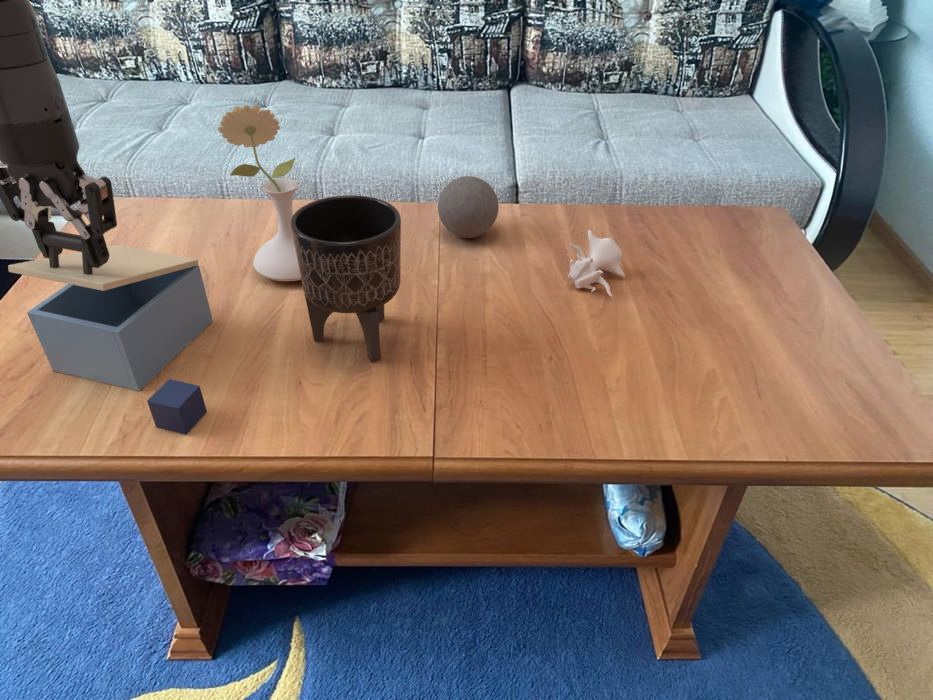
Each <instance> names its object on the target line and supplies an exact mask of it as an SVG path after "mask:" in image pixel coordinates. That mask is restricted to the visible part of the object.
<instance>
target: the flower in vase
mask: <svg viewBox="0 0 933 700" xmlns="http://www.w3.org/2000/svg"><path fill="white" fill-rule="evenodd" d="M275 116H276V115H275V114H274V113H272V111H271V109H261V107H260V106H259V105H258V104H254V105H252V106H251V107H250V105H248V104H244V105H243V106H242V107H240V106H234V107H233V109H232V111H226V112H225V115H223V116H222V117H221V120H220V122H219V124H220V126H218V127H217V130H218V132H219V133H220V134H221V137H222V138H223V139H226V142H227V143H229V144H230V145H234V146H235V147H240V146H243V147H244V148H252V149H253V154H254V159H255V163H256V165H252V164H250V163H249V164H248V163H242V164H240V165H239V164H238V165H237V166H236V167H235V168H233V170H232V171H231V173H230V176H238V177H247V178H253V177H255V176H256V175H257V174H258V173H259V172H262V173H263V174H264V175H265V177H267V178H268V180H267V181H265V182H264V183H263V184H262V186H261V188H262V190H263V191H264V192H265V193H266V194H267V195H268V196H269V197H270V199H271V201H272V203H273V206H274V209H275V212H276V217H277V225H278V227H277V232H276V234H275V235H274V236H273V237H271V238H270V239H269V240H268V241H266V242H265V243H264V244H263V245H261V247H260V248H259V249H258V250H257V251H256V253H255V255H254V257H253V263H252V265H253V269H255V271H256V272H257V273H259V274H260V275H261V276H262V277H264V278H266V279H269V280H272V281H275V282H276V281H277V282H295V281H302V280H301V275H300V270H299V265H298V260H297V255H296V250H295V245H294V240H293V235H292V230H291V225H290V222H291V218H292V216H293V215H294V214H293V213H294V212H293V199H294V196H295V192H296V190H297V189H298V187H299V182H298V181H297V180H295V179H294V178H293V179H292V178H288V177H284V176H286V175H287V174H288V173H289V172H290V171H291V170H292V168H293V166H294V164H295V161H296V157H293V158H291V159H289V160H287V161H284V162H281V163H279V164H278V165H276V166H275V168H274V170H273V171H272V173H271V174H272V175H271V176H270V174H268V172H267V171H266V170H264V168H263V167H262V165H261V164H260V162H259V158H258V154H257V150H256V148H257V147H259V146H260V145H262V146H263V145H264V146H265V145H266V144H267V143H268V142H271V141H272V142H273V141H274V140H275V139H276V135H278V133H279V132H278V131H279V130H280V129H281V126H280V125H279V124H280V122H279V120H278V119H276V117H275Z"/></svg>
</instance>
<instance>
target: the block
mask: <svg viewBox="0 0 933 700" xmlns="http://www.w3.org/2000/svg"><path fill="white" fill-rule="evenodd" d="M146 402H147V406H148V408H149V411H150V413H151V417H152V419H153V423H154V425H155V427H156V428H158V429H161V430H162V429H163V430H166V431H170V432H174V433H178V434H183V435H186V436H187V435H188V434H189V432H191V431H192V430H193V428H195V426H196V425H197V424H198V423H199V421H200V420H202V418H203V417H204V416H205V415H206V414H207V413H208V410H207V406H206V403H205V399H204V396H203V393H202V389H201V385H198V384H195V383H189V382H185V381H181V380H176V379H172V378H168V379H167V380H166V381H165V382H164V383H163V384H162V385H161V386H160V387H159V388H158V389H157V390H156V391H155V392H154V393H153V394H152V395H151V396H150V397H149V398H148V399H147V401H146Z"/></svg>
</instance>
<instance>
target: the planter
mask: <svg viewBox="0 0 933 700" xmlns="http://www.w3.org/2000/svg"><path fill="white" fill-rule="evenodd" d="M401 217H402V216H401V213H400V212H399V210H398V209H397V207H395V206H394V205H393V204H392V203H389V202H387V201H385V200H382V199H380V198H376V197H372V196H367V195H366V196H365V195H354V194H353V195H352V194H350V195H348V194H347V195H336V196H329V197H323V198H320V199H317V200H314V201H311V202H309V203H307V204H305V205H303V206H302V207H300V208H299V209H297V210H296V211H295V212H294V214H293V216H292V218H291V222H290V225H291V230H292V235H293V240H294V245H295V250H296V255H297V260H298V265H299V270H300V275H301V280H300V281H301V284H302V289H303V292H304V297H305V301H306V307H307V313H308V317H309V322H310V328H311V332H312V333H311V334H312V338H313V342H315V343H319V342H324V338H325V325H326V322H327V320H328V318H330V316H331V315H332V314H333V313H337V314H355V315H356V317H357V319H358V322H359V324H360V327H361V330H362V334H363V338H364V342H365V346H366V355H367V359H368V360H369V361H370V362H371V363H374V362H377V361H380V360H381V359H382V355H381V334H380V332H381V331H380V323H382V322H383V321H385V318H386V317H385V305H386V304H388V303H389V302H390V301H391V300H393V298H394V297H395V296H396V295H397V293H398V291H399V289H400V286H401V265H402V263H401V261H402V260H401V252H402V251H401V250H402V249H401V248H402V247H401V246H402V243H401V241H402V238H401V237H402V218H401Z"/></svg>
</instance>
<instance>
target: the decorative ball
mask: <svg viewBox="0 0 933 700" xmlns="http://www.w3.org/2000/svg"><path fill="white" fill-rule="evenodd" d="M499 208H500V207H499V199H498V196H497V193H496V192H495V190H494V188H493V187H492V186H491V185H490V184H489V183H488V182H487V181H485V180H484V179H482V178H480V177H478V176H473V175H464V176H460V177H457V178H455V179H453V180H451V181H450V182H448V184H446V185H445V187H444V188H443V190H442V191H441V193H440V195H439V198H438V203H437V213H438V216H439V220H440V221H441V223H442V225H443V226H444V228H445V229H446V230H447V231H449V233H451V234H453V236H456V237H460V238H464V239H475V238H477V237H480V236H482V235H484V234H485V233H487V232H489V230H491V228H492V227H493V226H494V224H495V222H496V220H497V218H498V215H499Z"/></svg>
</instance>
